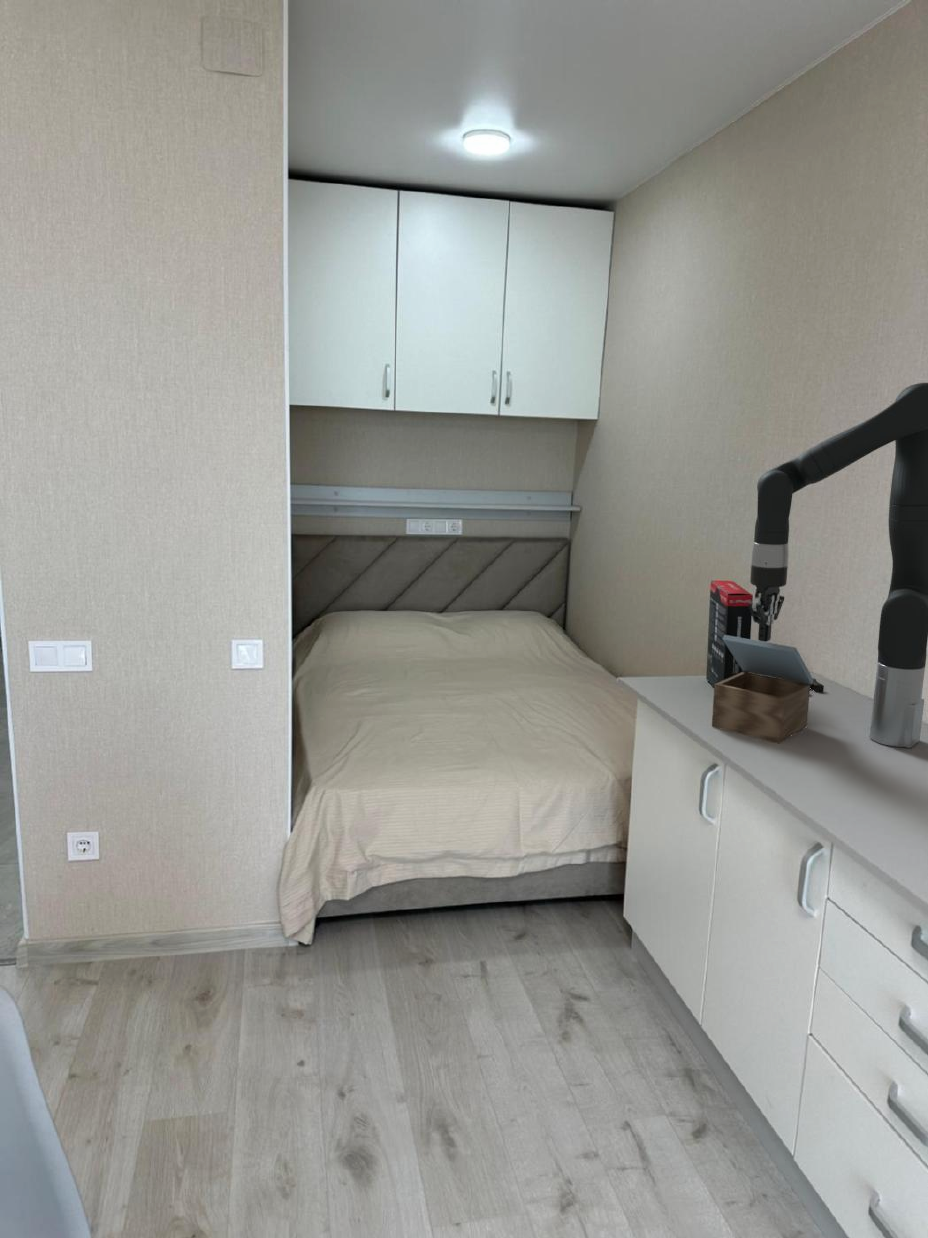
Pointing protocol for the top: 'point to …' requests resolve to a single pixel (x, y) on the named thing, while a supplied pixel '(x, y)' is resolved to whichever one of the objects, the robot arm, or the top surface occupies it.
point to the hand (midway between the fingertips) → (764, 640)
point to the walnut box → (760, 706)
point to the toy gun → (815, 686)
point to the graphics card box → (726, 627)
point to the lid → (768, 659)
